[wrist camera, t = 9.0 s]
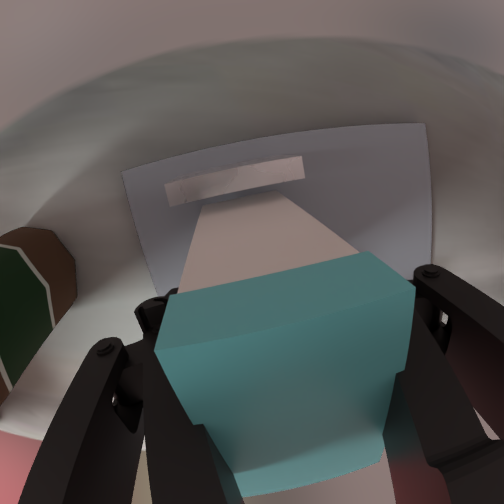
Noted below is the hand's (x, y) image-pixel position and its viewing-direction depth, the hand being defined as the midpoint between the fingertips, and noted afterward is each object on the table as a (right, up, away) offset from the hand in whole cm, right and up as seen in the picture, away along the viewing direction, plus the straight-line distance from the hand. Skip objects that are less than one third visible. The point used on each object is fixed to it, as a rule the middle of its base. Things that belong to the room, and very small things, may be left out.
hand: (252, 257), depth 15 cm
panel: (+4, -3, +6) cm, 8 cm away
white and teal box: (0, 0, +1) cm, 1 cm away
